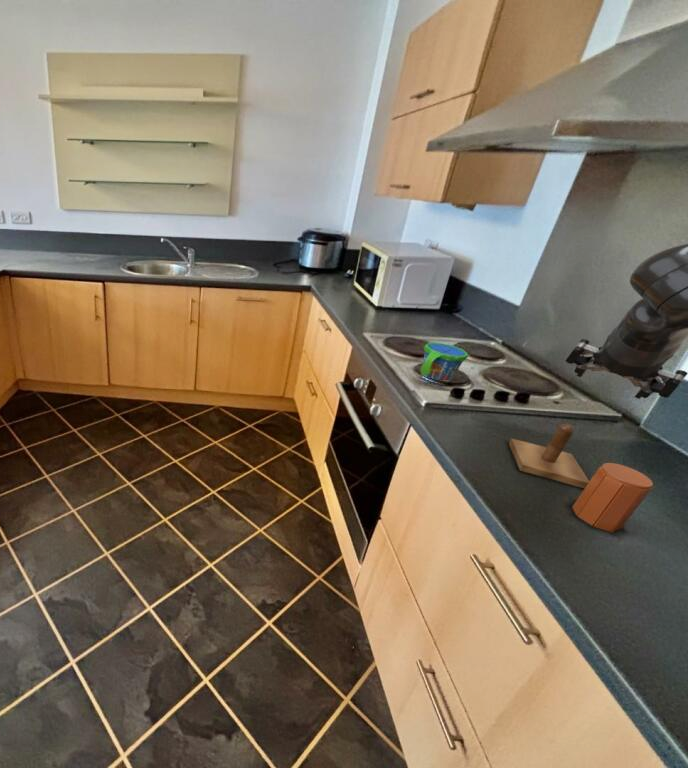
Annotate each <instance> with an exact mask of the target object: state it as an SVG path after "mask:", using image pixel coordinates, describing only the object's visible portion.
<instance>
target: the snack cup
mask: <svg viewBox="0 0 688 768" xmlns="http://www.w3.org/2000/svg"><path fill="white" fill-rule="evenodd" d="M423 349H424V355H423V361H422V365H421V367H420V378H421V379H422V380H424V381H425V382H426V383H429V384H432V385H435V386H441V387H443V386H447V385H446V384H439V383H435V382H431V381H429V380H426V379H425V378H423V377H422V376H421V374H422V375H423V376H425V377H427V378H432V379H439V380H451V379H452V380H453V378H454V377H455V375H456V373H457V372H458V370H459V369H460V367H461V365H462V363H463V362H465V361H466V360H467V359H468V357H469V353H468V352H467V351H466V350H464V349H462V348H460V347H458V346H454V345H451V344H446V343H440V342H428V343H426V344H425V345H424V347H423ZM452 380H451V381H452Z"/></svg>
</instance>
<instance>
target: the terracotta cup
mask: <svg viewBox="0 0 688 768" xmlns="http://www.w3.org/2000/svg"><path fill="white" fill-rule="evenodd" d="M653 485H654V482H653V480H651V478H649V477H648V476H647V475H646V474H645V473H642V472H640V471H638V470H636V469H634V468H631V467H630V466H626V465H623V464H620V463H616V462H615V463H614V462H604V463H603V464H602V465H601V466H599V467H598V469H597V470H596V471H595V473H594V474H593V475H592V477H591V479H590V480H589V483H588V485H587V486H586V488H585V489H584V488H583V490H582V492H581V493H580V494H579V497H578V498H577V499H576V501H575V502H574V504H573V505H572V507H571V508H572V510H573V512H574V514H575V516H577V518H579V519H580V520H582V521H584V522H585V523H587V524H588V525H589V526H592V527H594V528H597V529H600V530H603V531H605V532H606V531H607V532H610V533H611V532H612V533H613V532H617V531H619V530H621V529H622V528H623V527H624V525H626V523H627V521H629V519H630V517H631V516H632V515H633V514H634V513H635V512H636V510H637V509H638V508H639V506H640V505H641V504H642V502H643V501H644V500H645V499H646V498H647V496H648V494H649V493H650V492H651V491H652V489H653Z"/></svg>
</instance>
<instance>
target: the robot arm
mask: <svg viewBox="0 0 688 768" xmlns="http://www.w3.org/2000/svg"><path fill="white" fill-rule="evenodd" d="M634 268H635V269H633V271H632V273H631V274H630V277H629V283H630V286H631V287H632V289H633V291H634V292H636V293H637V294H638V296H640V297H641V299H639V300H637V301H636V302H635V303H634V304H632V305H631V307H629V309H628V310H627V311H626V313H625V314H624V316H623V317H622V319H621V320H620V322H619V323H618V324H617V325H616V326H615V327H614V328H613V329H612V331H611V333H610V334H608V336H607V337H606V339H605V341H604V343H603V344H602V346H599V347H596V346H594V345H593V346H592V345H591V344H590V340H588V339H586V338H581V339H580V341H579V342H578V343H577V345H575V347H574V348H573V350H572V351H571V352H570V354H569V355H568V357H567V358H566V359H565V360H564V361H565V363H567V364H570V365H574V364H575V365H576V366H575V369H574V371H573V372H574V374H575V373H576V377H579V378H582V376H583V375H584V374H585V372H586V371H587V370H590V371H591V372H598V371H599V372H601V371H605V372H608V373H610V374H614V375H618V376H620V377H622V378H625V379H628V380H629V382H631V384H632V385H633V386H634V387H636V388H640V389H639V390H638V391H637V392H636V394H634V395H635V396H634V398H636V399H638V400H640V399H642V398H644V399H647V398H649V397H650V396H651V395H653V394H655V393H656V394H658V396H660V397H662V398H666V399H668V398H670V396H671V395H672V394H673V393H674V392H675V390H677V388H678V387H679V385H680V384H681V383H682V382H683V381H684V379H686V376H687V375H688V372H687V371H685V370H681V369H678V370H677V369H676V371H675V372H674V371H669V370H667V369H666V370H665V369H664V368H663V366H664V365H665V364H666V363H667V362H668V361H669V360H670V359H671V358H673V357H674V356H675V354H676V352H677V351H679V349H680V347H681V346H682V344H683V342H684V341H685V340H686V339H687V338H688V243H684V244H680V245H677V246H673V247H670V248H667V249H664V250H661V251H659V252H657V253H655V254H652V255H651V256H649V257H648V258H646V259H644V260H643V261H642V262H640V263H639V264H638V265H637V266H636V267H634Z"/></svg>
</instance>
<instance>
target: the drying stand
mask: <svg viewBox="0 0 688 768" xmlns="http://www.w3.org/2000/svg"><path fill="white" fill-rule="evenodd" d="M574 433H575V427H574V426H573V425H572V424H569V423H561V424H560V425H558V426H557V429H556V430H555V432H554V434H553V436H552V437H551V439H550V440H549V442H548V444H547V445H546V446H543V445H538V444H536V443H535V444H534V443H531V442H528V441H523V440H519V439H515V438H511V439H510V440H509V442H508V446H509V449H510V450H511V453H512V455H513V457H514V461H515V463H516V465H517V467H518V469H519V471H520V472H523V473H526V474H527V473H528V474H530V475H535V476H538V477H541V478H545V479H549V480H552V481H555V482H560V483H563V484H567V485H570V486H574V487H576V488H577V487H578V488H582V489H583V490H584V489H585V488H586V486H587V485H588V483H589V482H590V480H589V479H588V477H587V475H586V473H585V472H584V470H583V469H582V468H581V466H580V464H579V463H578V461H577V459H576V458H575V457H574V455H573V454H572V453H570V452H567V451H564V449H565V447H566V446H567V444H568V442H569V441H570V439H571V437H572V436H573V434H574Z"/></svg>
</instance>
